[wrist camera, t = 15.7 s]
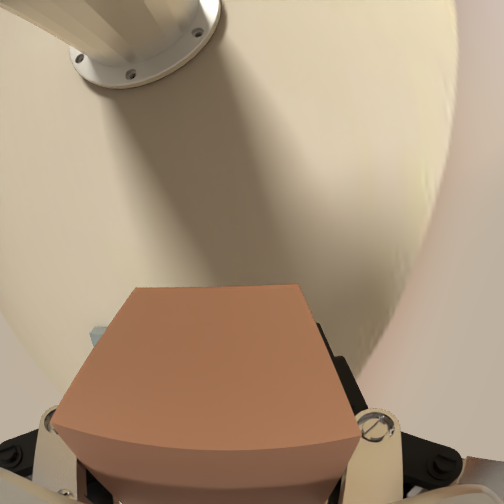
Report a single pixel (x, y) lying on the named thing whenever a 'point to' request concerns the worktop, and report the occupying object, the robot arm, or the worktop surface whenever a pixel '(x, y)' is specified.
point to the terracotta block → (211, 400)
